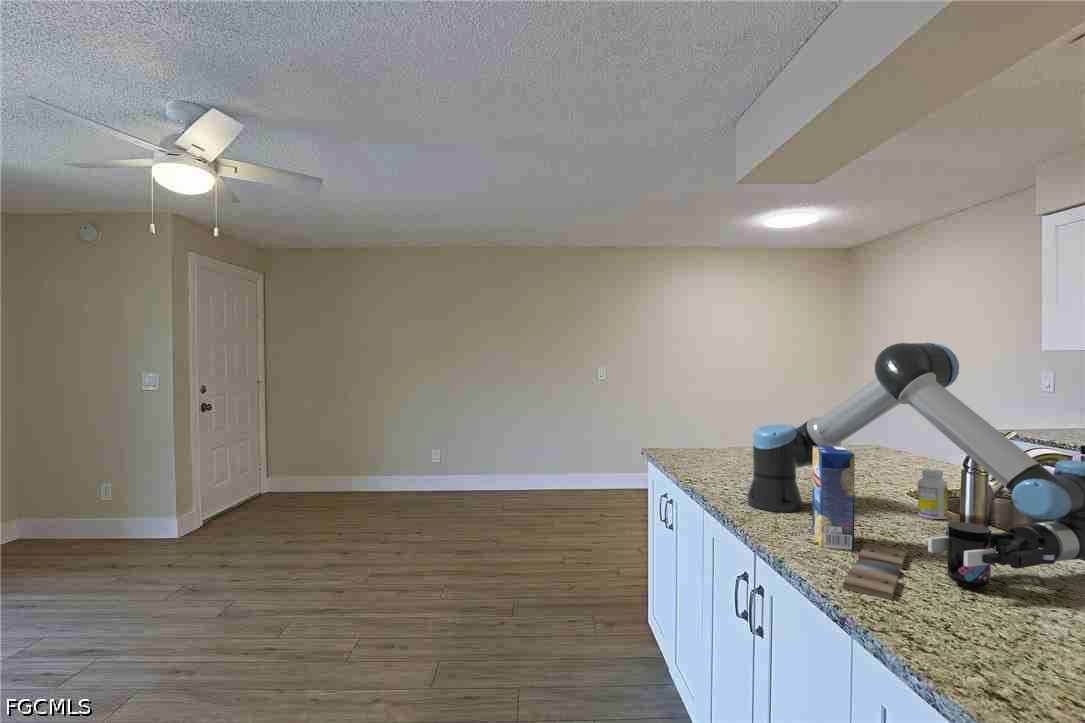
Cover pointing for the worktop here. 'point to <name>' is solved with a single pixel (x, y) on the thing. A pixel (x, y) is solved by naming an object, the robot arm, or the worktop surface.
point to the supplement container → (964, 540)
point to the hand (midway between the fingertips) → (947, 551)
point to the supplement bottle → (932, 495)
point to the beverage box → (833, 497)
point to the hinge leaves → (876, 571)
